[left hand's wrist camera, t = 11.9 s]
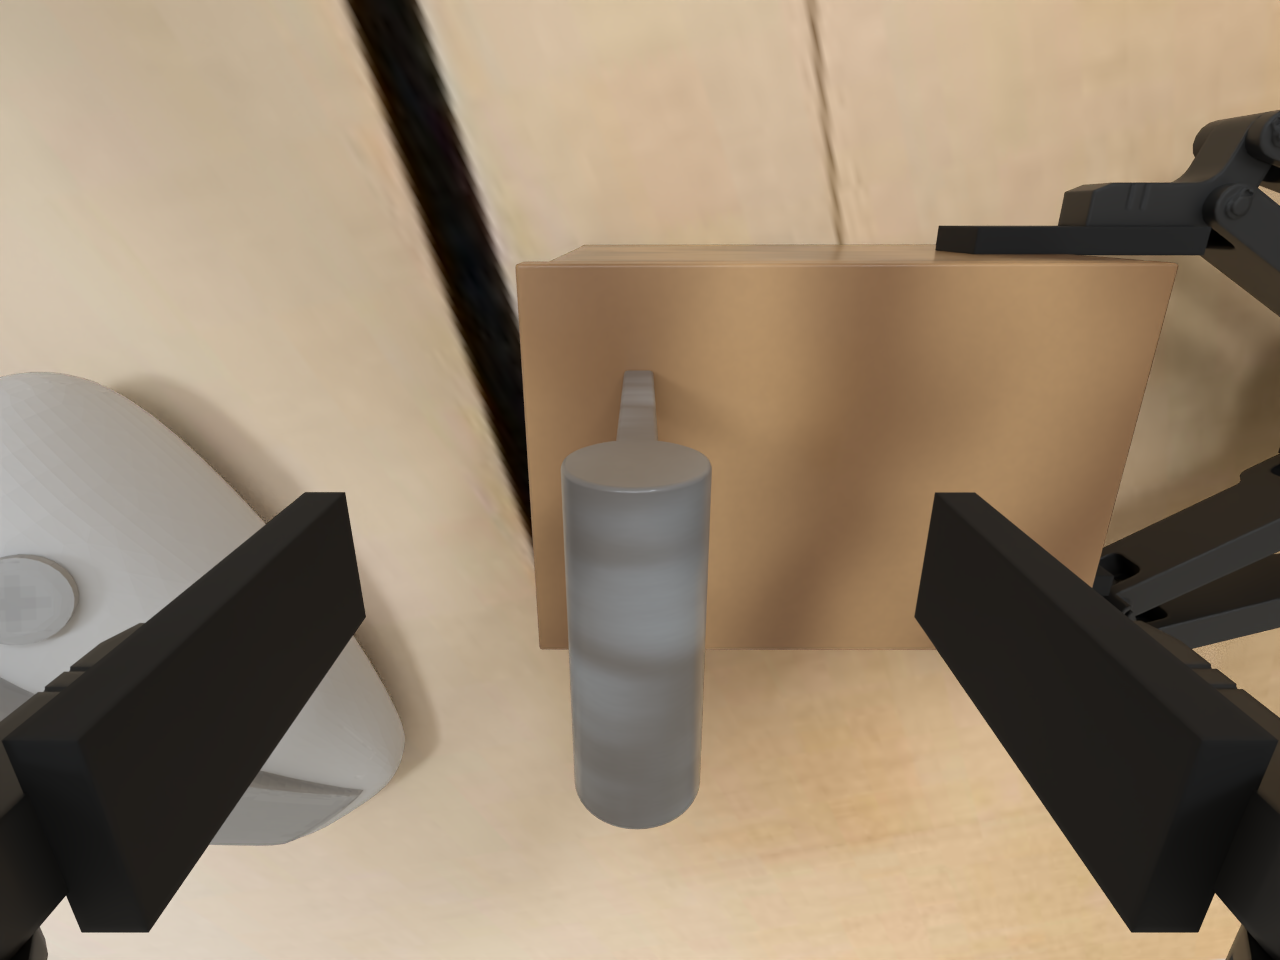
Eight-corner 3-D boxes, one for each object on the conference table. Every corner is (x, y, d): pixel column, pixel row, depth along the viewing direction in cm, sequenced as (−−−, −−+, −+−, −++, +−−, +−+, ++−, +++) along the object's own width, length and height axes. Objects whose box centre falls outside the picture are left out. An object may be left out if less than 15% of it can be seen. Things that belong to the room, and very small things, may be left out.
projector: (-9, 770, 36) (-411, 1111, 22) (-149, 329, 28) (-922, 437, 14) (416, 799, 36) (282, 1148, 23) (402, 378, 28) (181, 527, 15)
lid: (543, 631, 20) (472, 931, 12) (521, 261, 16) (393, 306, 8) (1057, 632, 20) (1361, 933, 12) (1151, 260, 16) (1699, 305, 8)
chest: (590, 490, 30) (563, 630, 20) (582, 245, 27) (545, 261, 16) (915, 490, 30) (1056, 630, 20) (952, 244, 27) (1150, 260, 16)
